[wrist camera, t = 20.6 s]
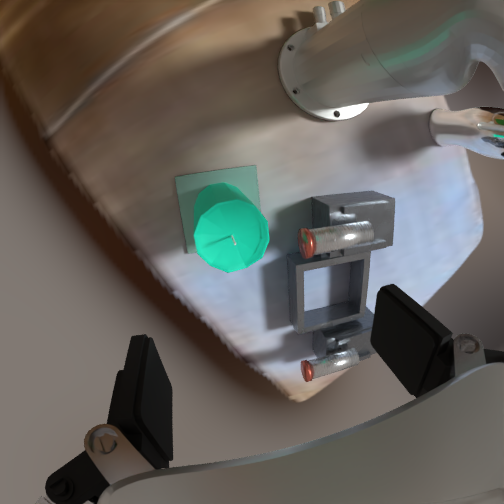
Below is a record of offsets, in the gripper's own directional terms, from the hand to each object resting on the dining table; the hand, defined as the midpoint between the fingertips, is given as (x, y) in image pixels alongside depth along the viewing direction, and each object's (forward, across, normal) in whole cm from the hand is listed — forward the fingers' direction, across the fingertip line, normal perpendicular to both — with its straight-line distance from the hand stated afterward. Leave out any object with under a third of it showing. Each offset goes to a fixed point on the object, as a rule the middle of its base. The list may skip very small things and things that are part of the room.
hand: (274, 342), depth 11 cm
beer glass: (+24, -34, -10) cm, 43 cm away
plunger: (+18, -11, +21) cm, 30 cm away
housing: (+23, -14, +12) cm, 30 cm away
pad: (+23, 0, 0) cm, 23 cm away
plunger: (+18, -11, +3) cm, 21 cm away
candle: (+23, 0, 0) cm, 23 cm away
